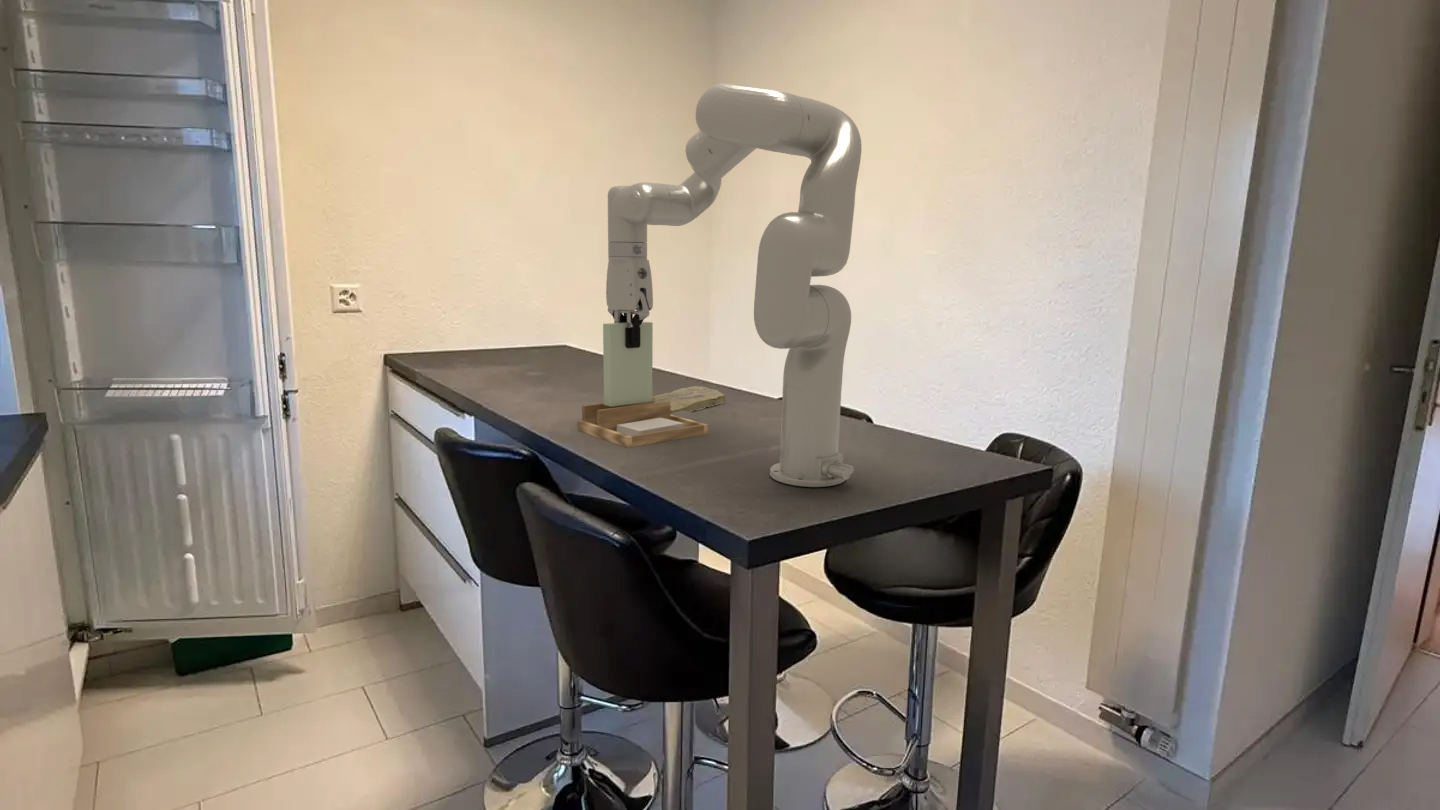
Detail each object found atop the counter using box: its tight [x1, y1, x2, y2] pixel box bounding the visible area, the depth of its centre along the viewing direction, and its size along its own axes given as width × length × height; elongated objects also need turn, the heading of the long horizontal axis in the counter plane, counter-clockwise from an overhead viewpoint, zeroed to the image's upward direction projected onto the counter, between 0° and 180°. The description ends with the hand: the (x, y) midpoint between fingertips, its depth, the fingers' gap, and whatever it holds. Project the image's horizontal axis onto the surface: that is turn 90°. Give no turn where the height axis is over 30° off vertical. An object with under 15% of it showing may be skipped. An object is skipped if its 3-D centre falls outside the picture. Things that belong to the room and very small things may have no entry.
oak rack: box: [577, 397, 709, 449], centre depth 156 cm, size 17×19×6 cm
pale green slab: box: [602, 321, 654, 407], centre depth 157 cm, size 2×10×16 cm, turn 131°
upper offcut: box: [617, 418, 684, 436], centre depth 154 cm, size 7×11×2 cm, turn 134°
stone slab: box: [652, 385, 726, 414], centre depth 188 cm, size 12×4×30 cm
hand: (628, 346), depth 157 cm, fingers closed on pale green slab, 2 cm apart
